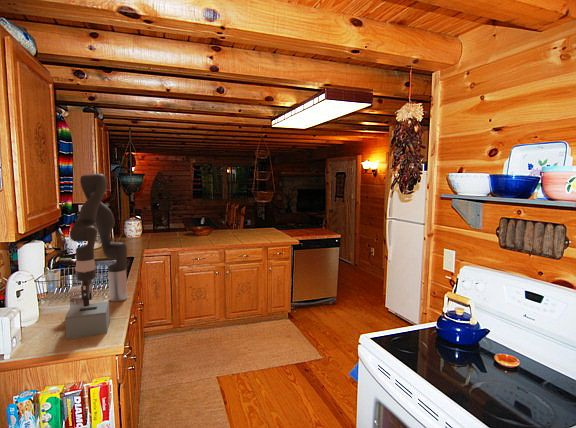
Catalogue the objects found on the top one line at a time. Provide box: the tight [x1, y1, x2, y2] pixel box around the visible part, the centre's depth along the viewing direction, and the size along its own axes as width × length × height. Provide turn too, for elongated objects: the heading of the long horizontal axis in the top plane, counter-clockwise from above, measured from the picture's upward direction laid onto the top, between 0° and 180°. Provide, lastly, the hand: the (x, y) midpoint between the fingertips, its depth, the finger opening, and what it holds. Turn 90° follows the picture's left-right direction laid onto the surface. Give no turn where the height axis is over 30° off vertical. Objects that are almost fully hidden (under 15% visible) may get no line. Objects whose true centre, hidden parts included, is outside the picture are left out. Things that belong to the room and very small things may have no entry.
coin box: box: [64, 300, 111, 340], centre depth 162 cm, size 14×16×10 cm
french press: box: [68, 267, 86, 308], centre depth 176 cm, size 10×12×25 cm
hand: (87, 302), depth 161 cm, fingers open, 7 cm apart
